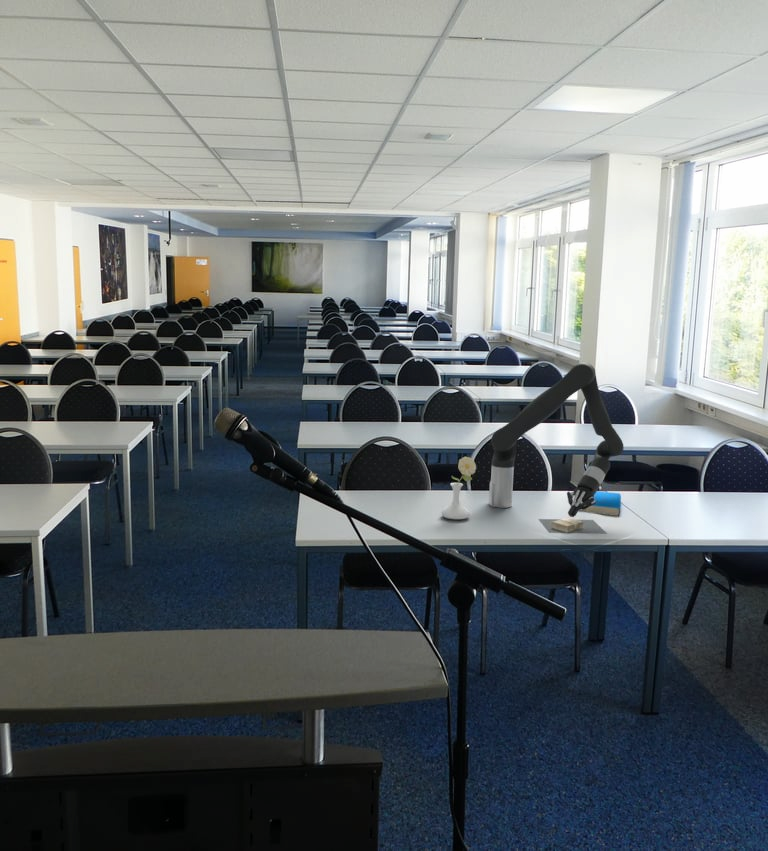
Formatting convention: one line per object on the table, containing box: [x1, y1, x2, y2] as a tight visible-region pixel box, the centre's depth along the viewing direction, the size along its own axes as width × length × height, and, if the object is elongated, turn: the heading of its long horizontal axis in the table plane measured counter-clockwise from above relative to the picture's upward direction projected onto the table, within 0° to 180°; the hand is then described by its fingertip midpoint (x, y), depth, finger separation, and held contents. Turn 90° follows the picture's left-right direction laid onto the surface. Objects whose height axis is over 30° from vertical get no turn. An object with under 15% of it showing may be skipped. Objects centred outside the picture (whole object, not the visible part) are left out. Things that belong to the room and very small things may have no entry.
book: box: [579, 490, 622, 516], centre depth 336 cm, size 17×4×25 cm
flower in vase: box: [440, 456, 477, 520], centre depth 311 cm, size 13×11×25 cm
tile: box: [552, 517, 583, 532], centre depth 301 cm, size 2×7×10 cm
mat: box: [538, 518, 608, 535], centre depth 304 cm, size 22×18×1 cm
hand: (570, 515), depth 301 cm, fingers closed
